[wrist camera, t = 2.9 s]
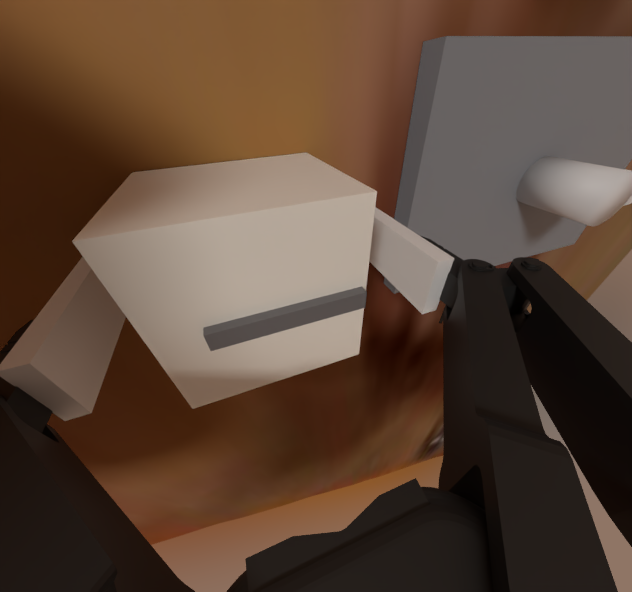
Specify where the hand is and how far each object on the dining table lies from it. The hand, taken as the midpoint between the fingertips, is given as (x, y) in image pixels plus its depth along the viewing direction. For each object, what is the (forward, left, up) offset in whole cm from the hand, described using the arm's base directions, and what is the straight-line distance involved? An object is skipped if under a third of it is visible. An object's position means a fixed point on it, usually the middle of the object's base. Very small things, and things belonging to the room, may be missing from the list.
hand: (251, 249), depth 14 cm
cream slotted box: (0, 0, -1) cm, 1 cm away
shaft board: (+20, +1, -1) cm, 20 cm away
